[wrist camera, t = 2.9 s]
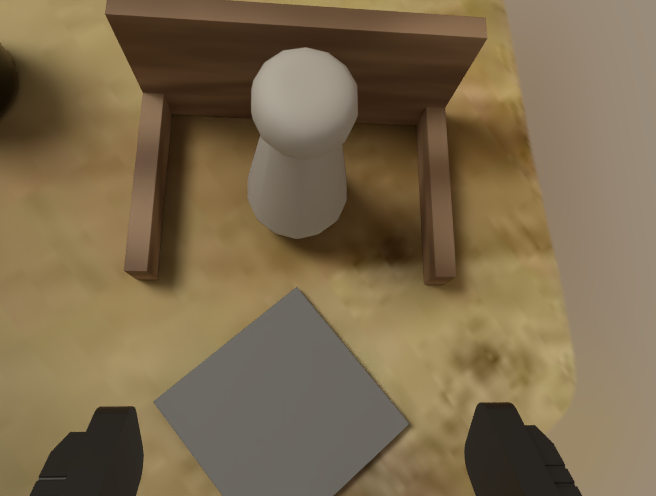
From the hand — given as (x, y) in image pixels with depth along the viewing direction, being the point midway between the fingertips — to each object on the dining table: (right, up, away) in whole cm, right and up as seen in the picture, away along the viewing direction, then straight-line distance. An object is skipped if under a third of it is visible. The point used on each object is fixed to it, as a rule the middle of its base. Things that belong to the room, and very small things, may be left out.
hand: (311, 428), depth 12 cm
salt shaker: (-2, +7, +20) cm, 21 cm away
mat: (-2, -5, +16) cm, 17 cm away
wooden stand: (-2, +8, +20) cm, 21 cm away
